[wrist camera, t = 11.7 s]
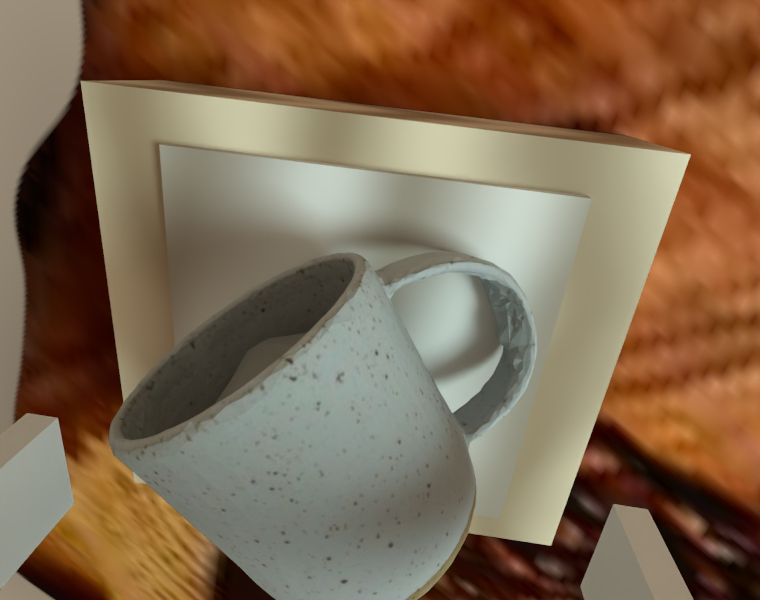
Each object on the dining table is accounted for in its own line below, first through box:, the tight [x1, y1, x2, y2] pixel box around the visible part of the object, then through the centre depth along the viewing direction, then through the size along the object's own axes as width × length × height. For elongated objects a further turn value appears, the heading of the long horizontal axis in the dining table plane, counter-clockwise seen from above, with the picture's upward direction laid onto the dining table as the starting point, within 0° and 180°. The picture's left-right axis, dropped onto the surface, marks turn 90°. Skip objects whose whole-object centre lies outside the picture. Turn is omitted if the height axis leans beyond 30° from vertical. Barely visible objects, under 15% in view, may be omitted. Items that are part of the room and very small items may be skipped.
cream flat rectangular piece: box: [81, 80, 691, 545], centre depth 20 cm, size 18×16×5 cm
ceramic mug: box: [109, 251, 537, 600], centre depth 14 cm, size 11×8×8 cm
